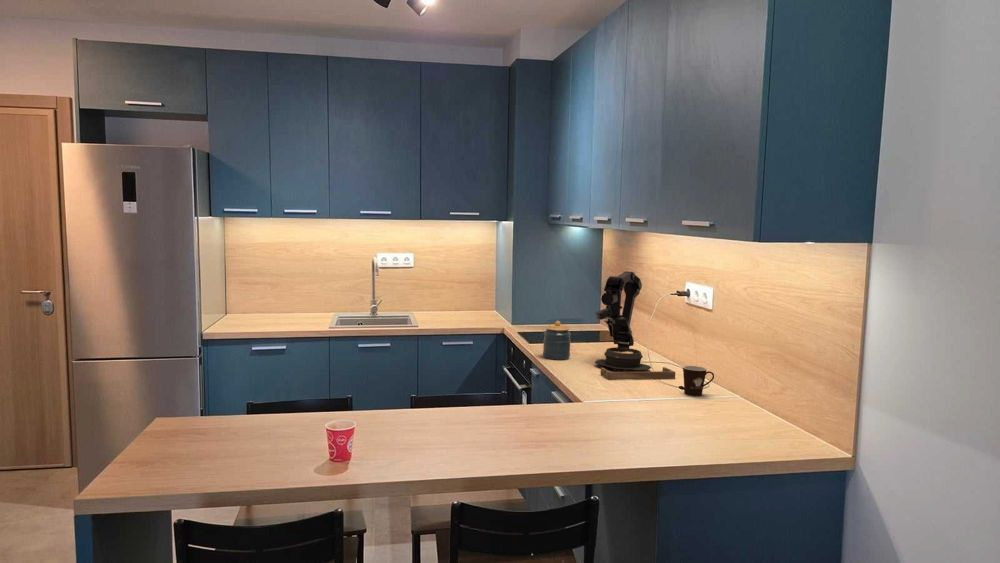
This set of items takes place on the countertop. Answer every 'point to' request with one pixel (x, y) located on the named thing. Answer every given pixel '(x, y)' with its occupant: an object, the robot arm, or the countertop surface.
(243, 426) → the countertop surface
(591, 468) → the countertop surface
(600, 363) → the casserole
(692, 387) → the coffee mug
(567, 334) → the canister
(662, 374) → the stop frame
